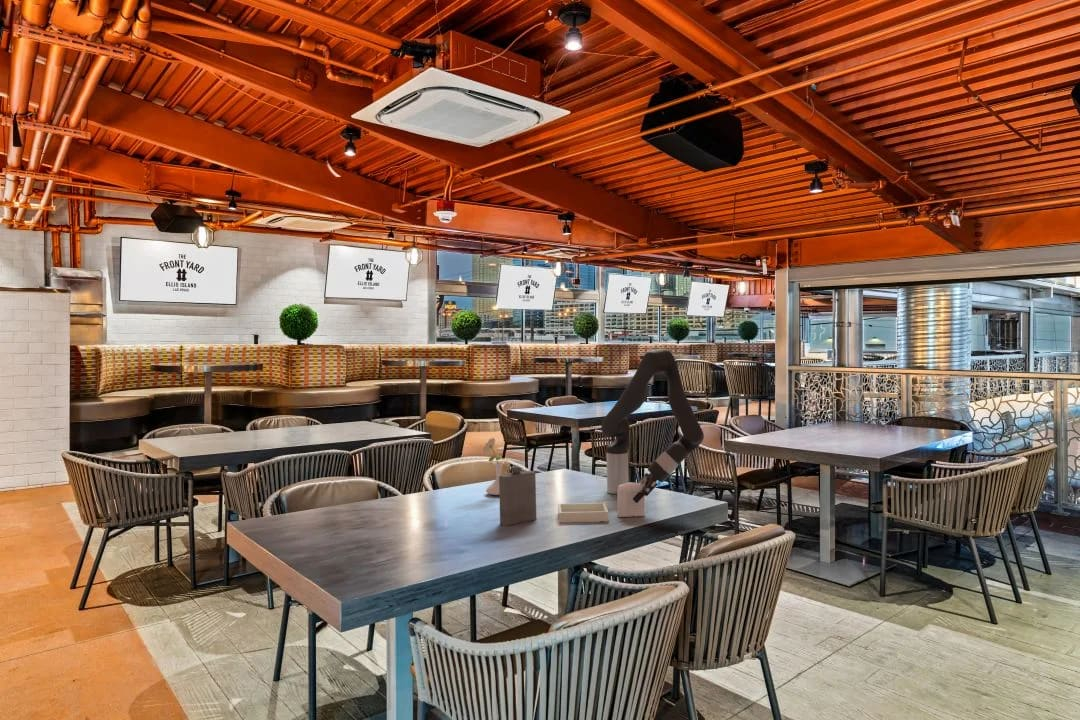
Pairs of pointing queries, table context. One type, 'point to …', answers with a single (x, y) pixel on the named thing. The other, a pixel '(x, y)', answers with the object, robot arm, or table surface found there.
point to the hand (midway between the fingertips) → (632, 498)
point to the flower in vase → (494, 487)
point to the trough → (583, 512)
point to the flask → (517, 496)
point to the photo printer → (629, 500)
